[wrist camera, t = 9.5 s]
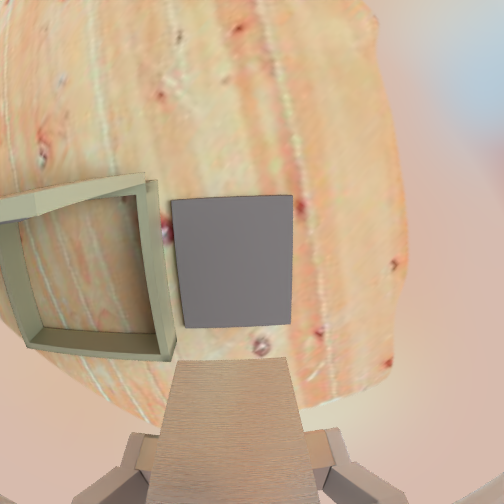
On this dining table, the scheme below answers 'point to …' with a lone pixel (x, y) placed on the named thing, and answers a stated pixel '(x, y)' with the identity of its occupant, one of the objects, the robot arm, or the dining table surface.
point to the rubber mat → (234, 260)
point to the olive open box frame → (164, 341)
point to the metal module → (232, 437)
